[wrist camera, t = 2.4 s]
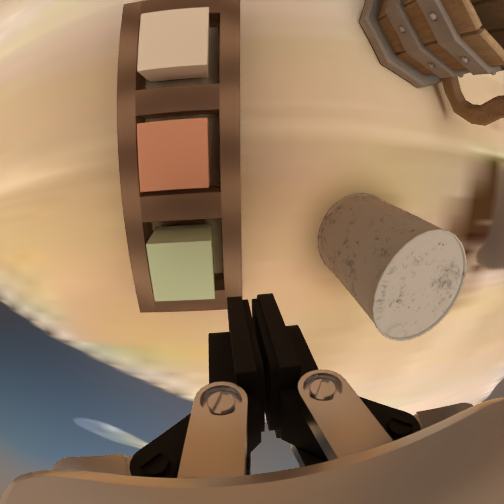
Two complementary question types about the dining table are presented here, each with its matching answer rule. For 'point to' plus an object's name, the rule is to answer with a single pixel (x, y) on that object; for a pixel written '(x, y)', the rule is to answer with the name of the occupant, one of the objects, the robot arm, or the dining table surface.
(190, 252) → the sage key
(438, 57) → the tankard
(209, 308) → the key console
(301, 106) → the dining table surface
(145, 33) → the cream key
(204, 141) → the terracotta key
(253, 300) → the robot arm
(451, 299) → the grey stone cylinder
